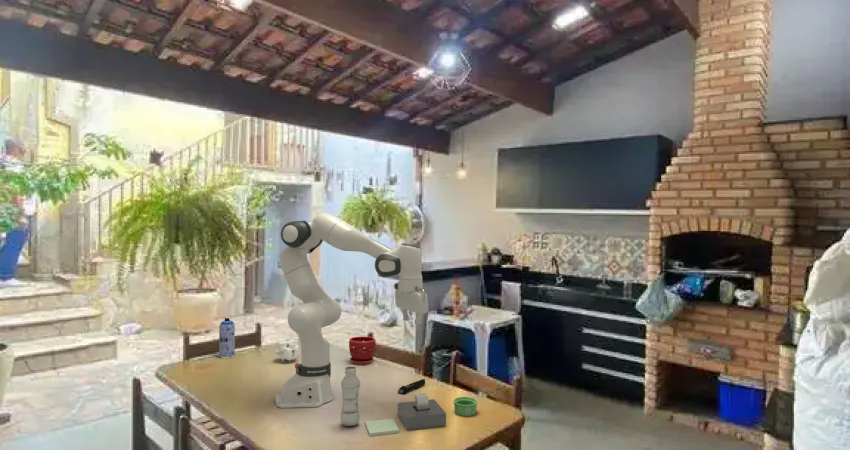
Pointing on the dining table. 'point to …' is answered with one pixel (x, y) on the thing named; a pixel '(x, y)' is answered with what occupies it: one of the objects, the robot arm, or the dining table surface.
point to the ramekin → (465, 406)
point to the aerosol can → (227, 338)
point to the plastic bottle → (350, 398)
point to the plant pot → (362, 350)
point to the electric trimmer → (411, 387)
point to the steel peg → (421, 402)
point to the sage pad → (381, 427)
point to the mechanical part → (288, 349)
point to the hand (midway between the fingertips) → (411, 322)
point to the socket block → (421, 415)
